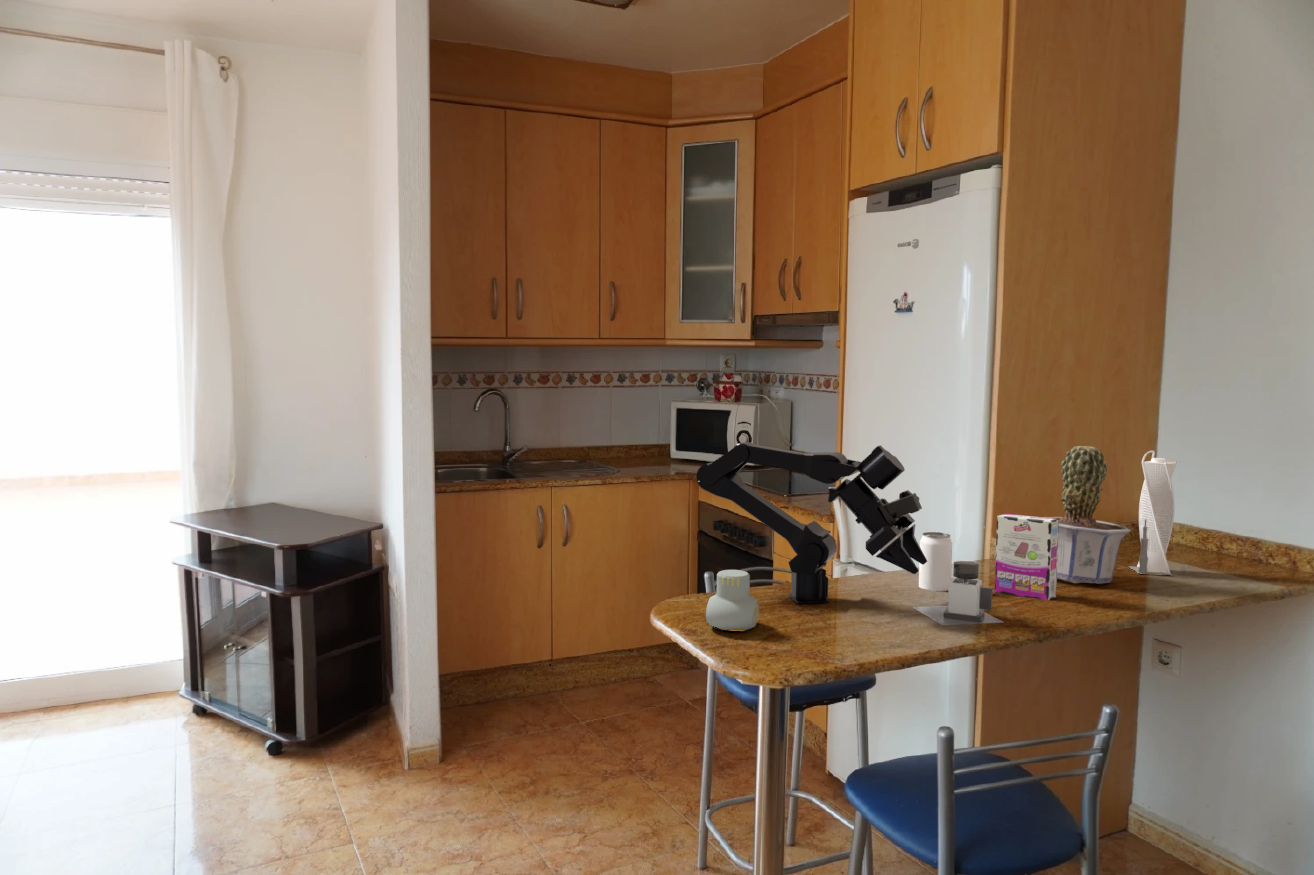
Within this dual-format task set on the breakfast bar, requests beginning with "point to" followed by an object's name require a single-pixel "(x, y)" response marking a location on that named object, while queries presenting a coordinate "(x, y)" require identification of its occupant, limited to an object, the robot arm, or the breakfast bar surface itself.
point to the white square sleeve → (968, 600)
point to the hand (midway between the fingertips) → (921, 567)
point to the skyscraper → (1155, 515)
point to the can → (936, 561)
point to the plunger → (965, 570)
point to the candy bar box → (1026, 556)
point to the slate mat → (938, 616)
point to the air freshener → (732, 602)
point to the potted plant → (1085, 521)
